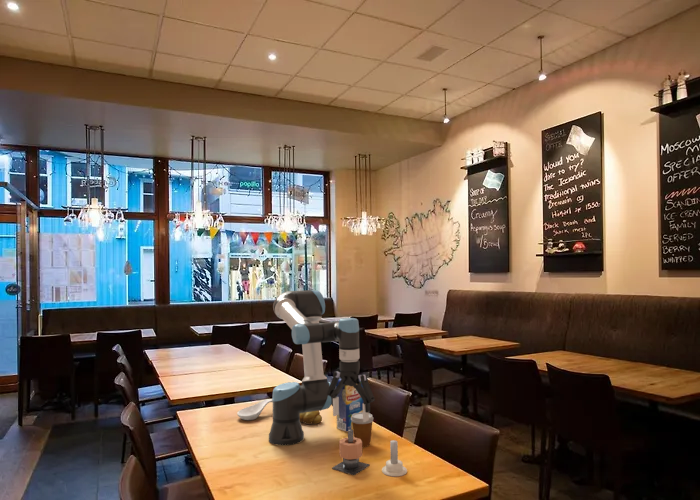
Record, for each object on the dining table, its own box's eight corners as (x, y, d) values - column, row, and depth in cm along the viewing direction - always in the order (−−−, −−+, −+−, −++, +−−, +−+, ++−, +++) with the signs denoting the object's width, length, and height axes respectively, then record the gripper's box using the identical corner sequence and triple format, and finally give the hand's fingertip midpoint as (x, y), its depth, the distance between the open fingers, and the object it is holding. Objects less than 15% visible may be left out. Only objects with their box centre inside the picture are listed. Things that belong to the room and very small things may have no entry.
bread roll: (326, 422, 225) (326, 405, 225) (312, 427, 217) (311, 410, 218) (307, 417, 233) (307, 400, 233) (293, 422, 225) (292, 405, 226)
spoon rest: (245, 424, 224) (245, 409, 224) (232, 419, 232) (232, 404, 232) (285, 413, 240) (285, 399, 241) (272, 408, 249) (272, 395, 249)
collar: (335, 456, 172) (335, 442, 172) (348, 449, 178) (348, 435, 179) (353, 461, 167) (353, 446, 167) (365, 453, 174) (365, 440, 174)
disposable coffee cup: (372, 449, 189) (371, 419, 190) (349, 448, 191) (348, 418, 192) (375, 441, 199) (375, 412, 199) (353, 439, 201) (353, 411, 201)
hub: (377, 472, 168) (376, 442, 168) (390, 463, 175) (389, 435, 176) (399, 478, 163) (398, 448, 163) (411, 469, 170) (410, 440, 170)
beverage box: (363, 426, 218) (363, 378, 219) (346, 431, 211) (345, 382, 212) (353, 422, 223) (353, 376, 224) (336, 428, 216) (335, 380, 217)
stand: (332, 468, 171) (331, 431, 172) (347, 459, 180) (347, 424, 180) (354, 475, 166) (353, 436, 166) (369, 465, 174) (369, 428, 174)
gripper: (317, 358, 178) (318, 415, 177) (372, 365, 164) (373, 426, 163) (329, 355, 185) (330, 410, 183) (383, 361, 170) (384, 420, 169)
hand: (350, 418), depth 173 cm, fingers open, 13 cm apart
